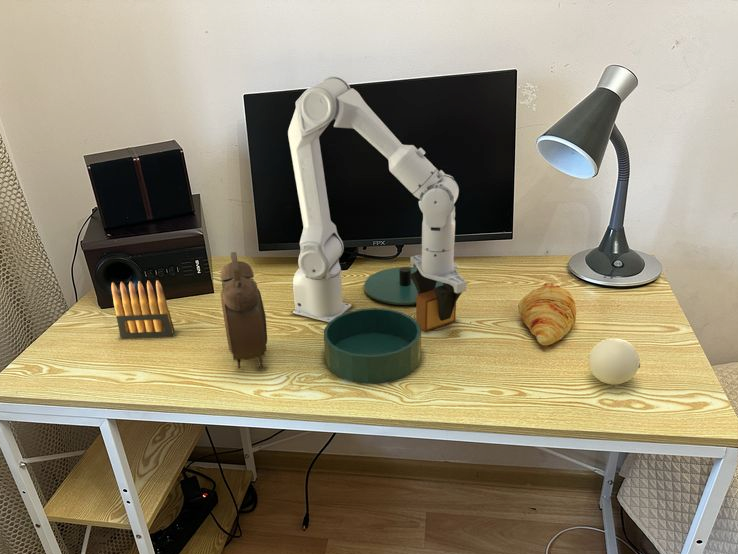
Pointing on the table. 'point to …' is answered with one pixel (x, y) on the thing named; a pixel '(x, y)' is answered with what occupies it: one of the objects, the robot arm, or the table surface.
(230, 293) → the alarm clock
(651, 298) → the table surface
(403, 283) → the lid
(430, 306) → the tall brown block
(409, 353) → the pot
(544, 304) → the croissant
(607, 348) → the cream white ovoid
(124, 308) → the ammunition clip
